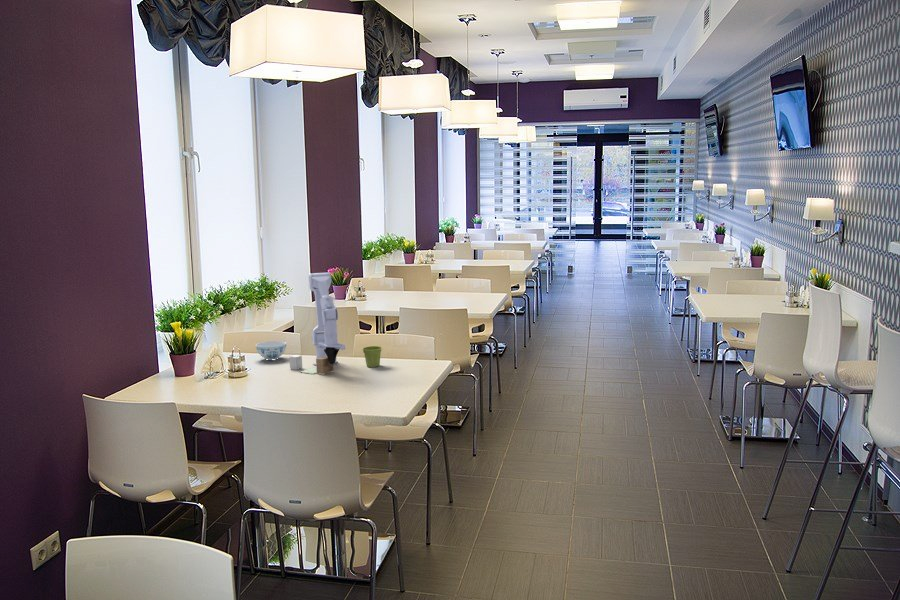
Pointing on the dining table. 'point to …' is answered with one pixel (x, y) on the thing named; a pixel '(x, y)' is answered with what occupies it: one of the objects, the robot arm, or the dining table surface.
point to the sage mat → (310, 370)
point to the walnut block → (323, 365)
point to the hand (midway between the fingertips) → (332, 363)
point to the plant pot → (372, 355)
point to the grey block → (295, 362)
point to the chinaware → (271, 349)
